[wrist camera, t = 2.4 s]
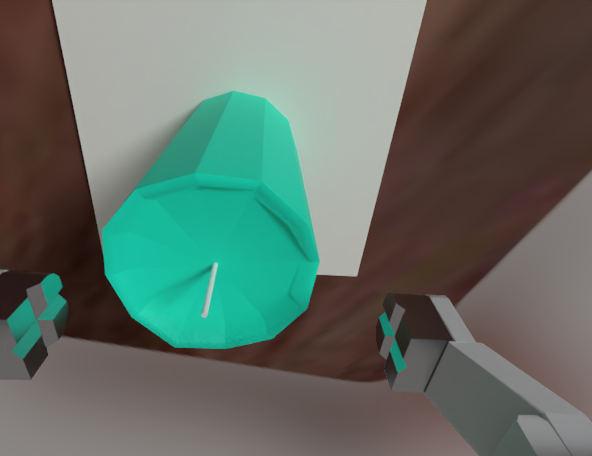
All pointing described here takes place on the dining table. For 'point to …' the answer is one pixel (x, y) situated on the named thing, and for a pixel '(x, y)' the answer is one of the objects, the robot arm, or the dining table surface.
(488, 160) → the dining table surface
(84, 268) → the dining table surface
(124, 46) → the tile
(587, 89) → the dining table surface
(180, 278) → the candle
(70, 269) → the dining table surface
